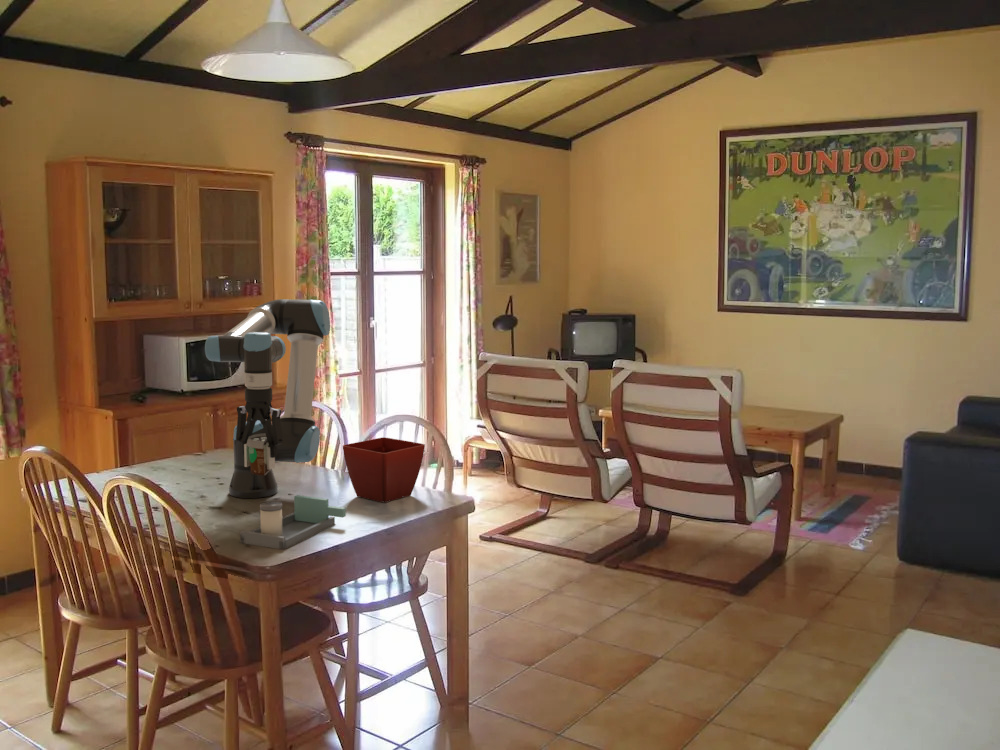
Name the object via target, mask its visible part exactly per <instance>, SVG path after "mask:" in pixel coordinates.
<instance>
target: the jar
mask: <svg viewBox="0 0 1000 750" xmlns="http://www.w3.org/2000/svg"><path fill="white" fill-rule="evenodd" d="M259 512H260V513H259V514H260V527H261V533H263V534H270V535H277V536H283V535H282V517H283V503H282V502H279V501H267V502H263V503H260V504H259Z"/></svg>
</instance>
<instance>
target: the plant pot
mask: <svg viewBox="0 0 1000 750" xmlns="http://www.w3.org/2000/svg"><path fill="white" fill-rule="evenodd" d="M425 449H426V444H424V443H419V442H415V441H409V440H403V439H397V438H391V437H383V436H382V437H379V438H373V439H372V438H371V439H366V440H363V441H358V442H357V441H356V442H353V443H346V444H344V445H342V450H343V456H344V461H345V462H344V463H345V465H346V468H347V469H346V470H347V473H348V476H349V479H350V482H351V484H352V487H353V491H354V492H355V494H356V497H358V498H362V499H363V498H364V499H368V500H371V501H376V502H380V503H388V502H392V501H395V500H399V499H402V498H406V497H410V496H411V495H412V493H413V491H414V488H415V486H416V483H417V479H418V478H419V477H418V476H419V473H420V470H421V467H422V463H423V459H424V454H425Z"/></svg>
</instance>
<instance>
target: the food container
mask: <svg viewBox="0 0 1000 750" xmlns="http://www.w3.org/2000/svg"><path fill="white" fill-rule="evenodd" d="M246 445H247V446H248V447H249V455H250V467H251V473H252V474H255V475H263V476H265V475H266V474H267V473H268V472H269V471H270V470H271V469H270V470H268V469H267V446H268V445H269V443H268V440H267V437H266V434H256V435H252V436H249V438H248V440H247V444H246Z"/></svg>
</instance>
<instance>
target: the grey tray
mask: <svg viewBox="0 0 1000 750" xmlns="http://www.w3.org/2000/svg"><path fill="white" fill-rule="evenodd" d="M335 519H336V518H335V516H329V518H327V519H325V520H323V521H321V522H319V523H311V522H304V521H297V520H295V515H294V511H293V512H291V513H289V514H286V515H284V516H282V535H283V536H277V535H270V534H263V533H261V526H259V527H257V528H254V529H251V530H250V531H248V530H241V531H240V532H239V533H240V536H239V537H240V542H239V544H240V543H241V544H246V545H250V546H251V545H253V546H257V547H264V548H265V547H266V548H272V549H278V550H286V549H288V548H291V547H292V546H294V545H297V544H298V543H301V542H302V541H304V540H307V539H309V538H311V537H313V536H315V535H317V534H319V533H321V532H322V531H326V530H327V529H329V528H331V527H333V526H336V524H335Z"/></svg>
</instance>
